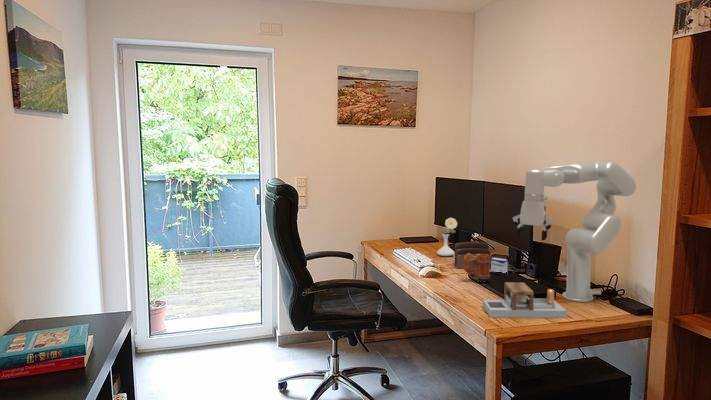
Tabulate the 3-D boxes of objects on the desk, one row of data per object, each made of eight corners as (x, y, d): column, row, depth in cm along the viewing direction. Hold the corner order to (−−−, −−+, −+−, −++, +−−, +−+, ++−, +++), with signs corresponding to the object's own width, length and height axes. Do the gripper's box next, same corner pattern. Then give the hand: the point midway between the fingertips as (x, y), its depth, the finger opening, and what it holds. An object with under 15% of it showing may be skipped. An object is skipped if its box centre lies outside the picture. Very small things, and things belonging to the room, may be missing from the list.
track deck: (554, 306, 191) (554, 300, 191) (566, 318, 178) (566, 310, 178) (482, 306, 193) (483, 299, 193) (489, 317, 180) (490, 310, 180)
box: (490, 274, 245) (490, 258, 244) (493, 272, 248) (493, 257, 247) (504, 276, 240) (504, 260, 239) (507, 274, 243) (508, 259, 242)
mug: (488, 279, 234) (488, 251, 233) (493, 283, 226) (494, 254, 225) (460, 280, 234) (460, 251, 232) (464, 284, 226) (465, 255, 224)
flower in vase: (435, 257, 287) (435, 218, 284) (437, 253, 297) (437, 216, 295) (456, 258, 283) (456, 219, 280) (457, 254, 294) (458, 216, 291)
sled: (550, 301, 189) (550, 287, 188) (557, 307, 181) (557, 292, 180) (505, 301, 190) (505, 286, 189) (510, 307, 182) (511, 292, 181)
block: (522, 303, 188) (522, 291, 187) (526, 307, 183) (526, 295, 182) (510, 302, 188) (510, 291, 188) (513, 306, 183) (514, 295, 183)
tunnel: (523, 299, 192) (523, 282, 191) (533, 310, 179) (533, 291, 178) (504, 299, 192) (504, 282, 191) (512, 310, 179) (513, 291, 179)
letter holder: (454, 264, 267) (454, 241, 265) (488, 265, 265) (489, 241, 263) (456, 269, 257) (456, 244, 255) (491, 269, 255) (492, 245, 253)
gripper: (558, 199, 187) (556, 239, 188) (517, 196, 198) (515, 234, 200) (552, 200, 181) (550, 242, 183) (510, 197, 193) (508, 237, 194)
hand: (532, 238), depth 191 cm, fingers open, 9 cm apart
